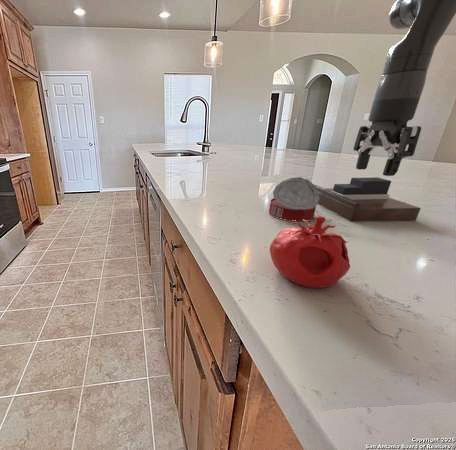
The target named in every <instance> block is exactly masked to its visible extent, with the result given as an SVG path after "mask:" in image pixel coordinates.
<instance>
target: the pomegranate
mask: <svg viewBox="0 0 456 450" xmlns="http://www.w3.org/2000/svg"><path fill="white" fill-rule="evenodd" d="M314 219H315V223H314V226H313V225H312V224H311V223H310V221H307V220H304V219H303V221H304V222H306V223H307V225H308V228H307V227H305V226H304V225H302V223H300V222H296V221H293V222H290V223H285V225H287V226H291V225H298V226H299V227H286V228H283V229H282V230H281V229H280V230H279V232H278V233H277V235H276V236H275V237H274V239H273V240H272V241H271V243H270V246H269V254H270V259H271V260H272V263H273V265H274V267H275V268H276V270H277V271H278V272H279V273H280V274H281V275H282V276H284V278H286V279H287V280H290V281H292V283H294V284H296V285H300V286H304V287H306V288H315V289H317V288H318V289H319V288H326V287H330V286H333V285H334V284H335V285H336V284H337V283H338V282H339V281H340V280H341V279H342V278H343V277H345V275H347V273H348V272H349V271H350V268H351V264H350V257H349V251H348V248H347V246H346V244H347V243H348V241H347V240H345V239H344V238H343V236H342V235H340V234H339V235H338V234H336V233H332V232H331V233H330V232H326V231H327V230H328V229H332V228H335V227H336V225H335V224H334V225H331V224H326V225H325V226H323V224H324V223H325V221H326V217H325V216H323V215H318V216H315V218H314ZM322 226H323V227H322Z"/></svg>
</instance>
